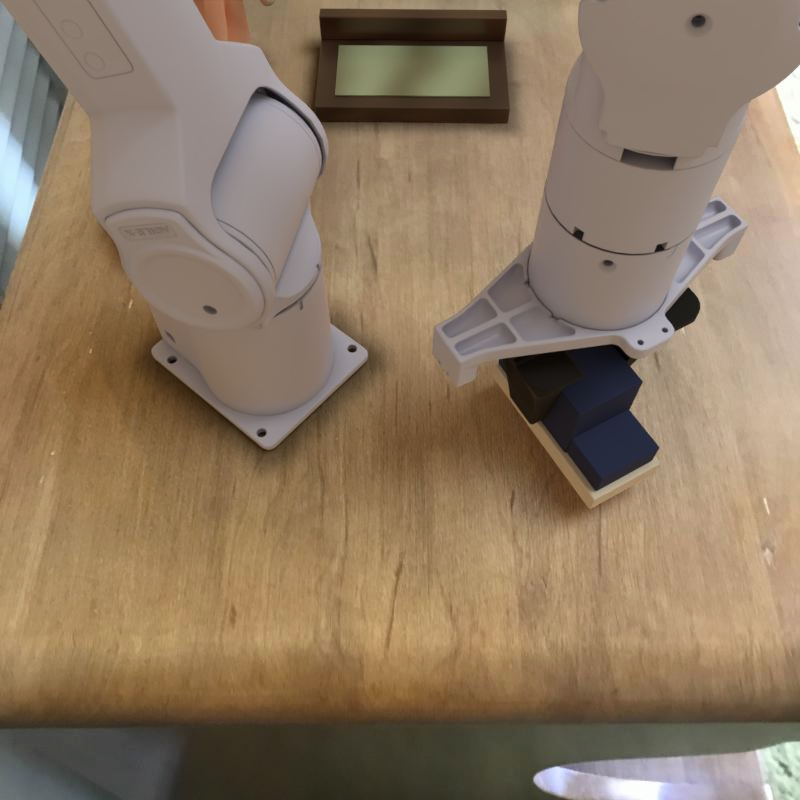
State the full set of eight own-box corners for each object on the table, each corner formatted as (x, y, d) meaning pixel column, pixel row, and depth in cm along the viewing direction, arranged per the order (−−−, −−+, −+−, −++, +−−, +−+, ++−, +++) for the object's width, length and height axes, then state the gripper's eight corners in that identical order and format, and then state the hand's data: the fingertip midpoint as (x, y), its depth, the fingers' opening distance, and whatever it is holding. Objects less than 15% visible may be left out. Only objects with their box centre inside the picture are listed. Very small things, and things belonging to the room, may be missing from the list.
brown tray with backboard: (316, 121, 56) (311, 84, 54) (323, 45, 60) (319, 7, 58) (508, 123, 56) (513, 86, 54) (502, 47, 60) (506, 9, 58)
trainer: (489, 373, 44) (499, 316, 40) (551, 342, 45) (567, 284, 41) (589, 510, 40) (612, 464, 36) (654, 473, 41) (685, 424, 37)
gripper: (517, 356, 27) (480, 520, 38) (850, 195, 30) (723, 389, 42) (408, 212, 30) (404, 404, 41) (722, 82, 33) (637, 292, 45)
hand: (559, 390), depth 42 cm, fingers closed on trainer, 3 cm apart
